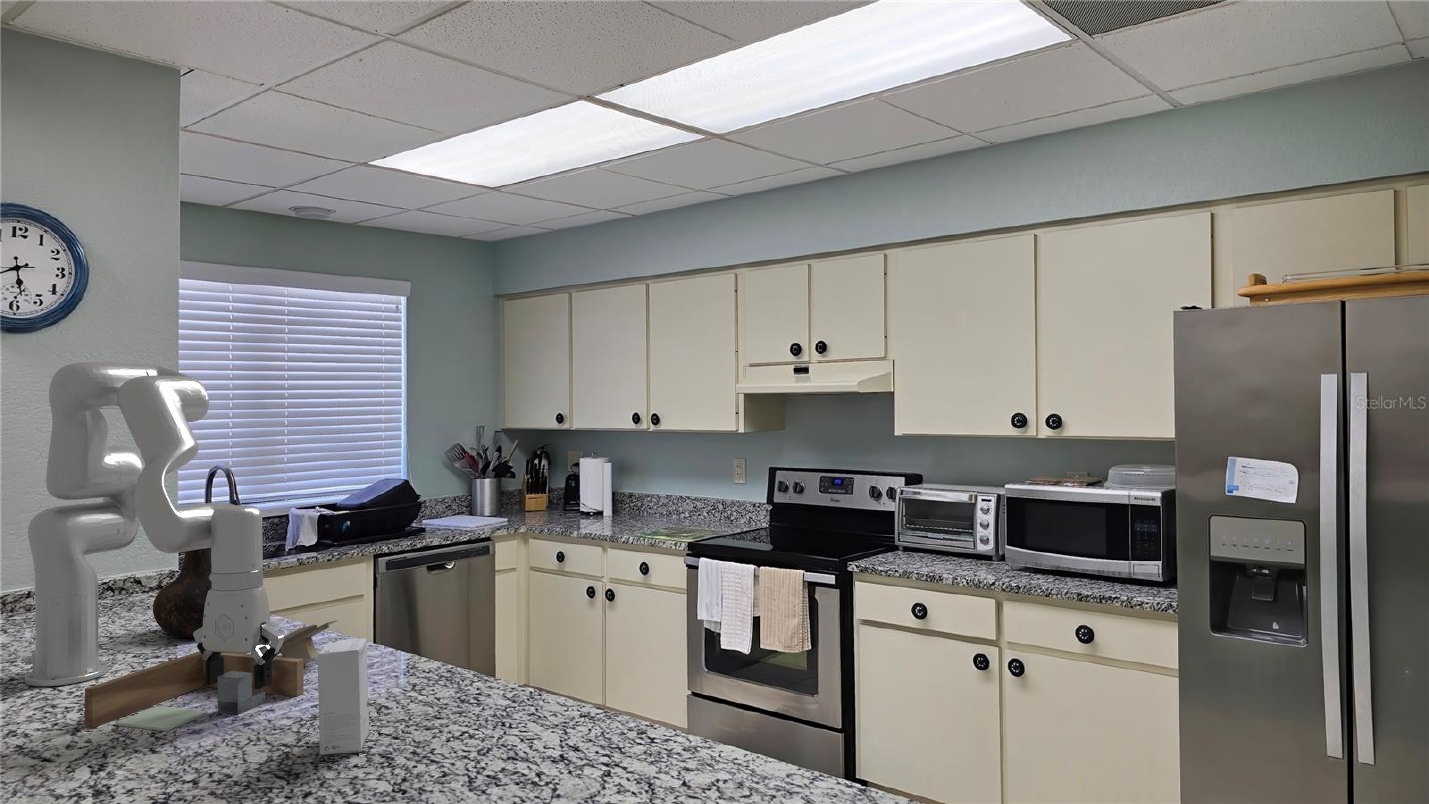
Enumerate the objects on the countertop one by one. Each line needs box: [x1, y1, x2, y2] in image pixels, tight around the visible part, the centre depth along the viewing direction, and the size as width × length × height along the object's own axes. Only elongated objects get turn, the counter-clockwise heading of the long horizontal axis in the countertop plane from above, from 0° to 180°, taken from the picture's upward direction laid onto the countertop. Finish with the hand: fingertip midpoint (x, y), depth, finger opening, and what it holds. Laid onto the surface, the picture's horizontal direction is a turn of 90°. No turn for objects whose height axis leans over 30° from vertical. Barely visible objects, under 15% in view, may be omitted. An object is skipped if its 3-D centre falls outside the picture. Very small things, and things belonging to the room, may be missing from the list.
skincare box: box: [317, 637, 370, 756], centre depth 135 cm, size 8×6×15 cm
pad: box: [115, 705, 209, 732], centre depth 145 cm, size 10×8×1 cm
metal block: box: [217, 671, 266, 716], centre depth 151 cm, size 4×6×6 cm, turn 164°
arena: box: [84, 650, 305, 729], centre depth 150 cm, size 22×23×6 cm
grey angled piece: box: [260, 619, 339, 665], centre depth 174 cm, size 16×9×15 cm
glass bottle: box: [152, 548, 212, 639], centre depth 199 cm, size 18×18×28 cm
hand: (238, 684), depth 150 cm, fingers open, 9 cm apart
